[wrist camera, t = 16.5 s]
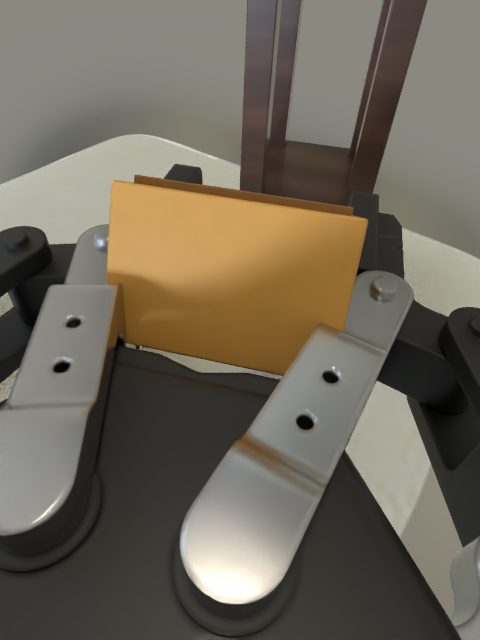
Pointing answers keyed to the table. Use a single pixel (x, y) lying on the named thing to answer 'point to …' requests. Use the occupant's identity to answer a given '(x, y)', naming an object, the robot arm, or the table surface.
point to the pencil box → (229, 269)
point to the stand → (276, 95)
